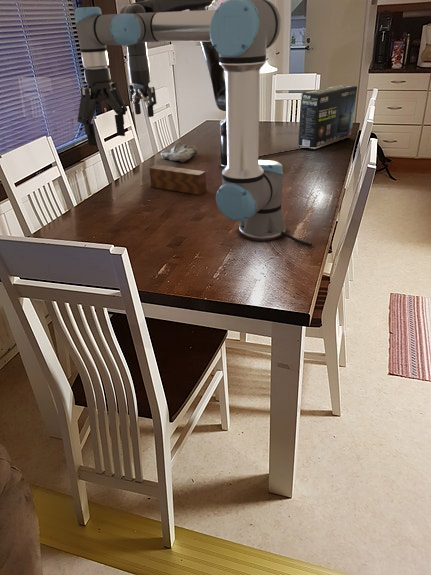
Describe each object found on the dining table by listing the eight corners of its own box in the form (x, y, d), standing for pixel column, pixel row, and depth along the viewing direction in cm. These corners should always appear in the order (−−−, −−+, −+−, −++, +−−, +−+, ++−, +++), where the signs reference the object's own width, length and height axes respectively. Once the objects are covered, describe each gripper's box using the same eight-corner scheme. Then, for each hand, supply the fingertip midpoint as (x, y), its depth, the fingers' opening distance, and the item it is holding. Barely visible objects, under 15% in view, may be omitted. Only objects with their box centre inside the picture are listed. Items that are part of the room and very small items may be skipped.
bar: (206, 191, 186) (205, 171, 182) (199, 195, 182) (198, 175, 178) (158, 183, 197) (156, 164, 193) (151, 186, 193) (149, 167, 189)
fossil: (184, 156, 217) (163, 136, 220) (174, 174, 223) (154, 154, 227) (205, 153, 231) (186, 134, 234) (195, 171, 237) (176, 152, 240)
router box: (314, 151, 231) (318, 94, 217) (296, 148, 237) (299, 92, 224) (352, 138, 251) (358, 85, 238) (335, 135, 258) (340, 83, 245)
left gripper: (159, 68, 164) (163, 116, 173) (136, 66, 174) (142, 111, 182) (141, 70, 160) (146, 119, 169) (119, 68, 169) (125, 114, 178)
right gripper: (114, 63, 147) (123, 131, 158) (55, 72, 129) (70, 148, 140) (132, 63, 144) (140, 132, 155) (75, 72, 126) (88, 150, 137)
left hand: (144, 115), depth 175 cm, fingers open, 8 cm apart
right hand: (107, 140), depth 148 cm, fingers open, 13 cm apart
